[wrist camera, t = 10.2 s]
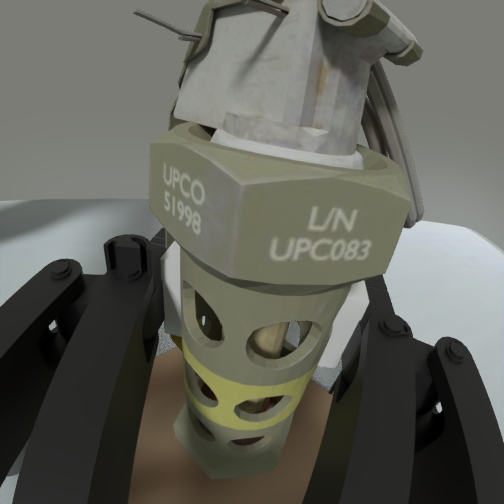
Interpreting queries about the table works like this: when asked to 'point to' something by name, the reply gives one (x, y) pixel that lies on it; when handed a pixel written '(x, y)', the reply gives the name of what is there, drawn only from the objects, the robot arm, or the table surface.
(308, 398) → the walnut board
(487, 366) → the table surface
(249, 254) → the grenade
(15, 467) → the grey rounded block
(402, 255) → the table surface
